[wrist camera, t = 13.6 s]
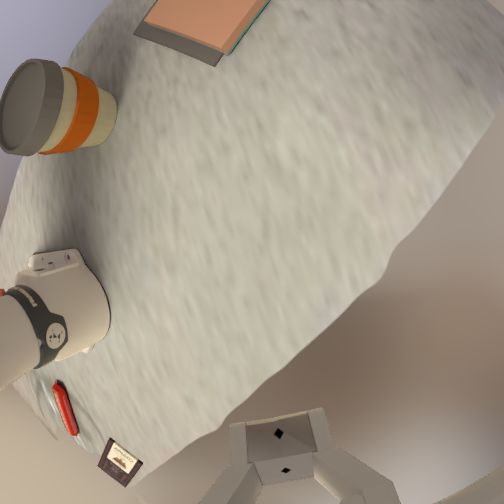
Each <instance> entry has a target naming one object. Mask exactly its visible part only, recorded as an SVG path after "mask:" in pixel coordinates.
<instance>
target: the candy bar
mask: <svg viewBox="0 0 504 504" xmlns="http://www.w3.org/2000/svg"><path fill="white" fill-rule="evenodd" d="M52 390H53V394H54V397H55V400H56V403H57V406H58V409H59V412H60V415H61V418H62V420H63V423H64V426H65V428H66V430H67V431H68V432H69V433H70V434H71V435H73V436H77V434H78V428H77V425H76V422H75V419H74V417H73V414H72V410H71V407H70V404H69V401H68V398H67V395H66V392H65V390H64V389H63V388H62V387H61V386H60V385H59V384H56V381H55V384H54V385H53V387H52Z"/></svg>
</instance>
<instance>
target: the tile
mask: <svg viewBox="0 0 504 504" xmlns="http://www.w3.org/2000/svg"><path fill="white" fill-rule="evenodd" d="M269 1H270V0H158V1H157V3H156V4H155V5H154V7H153V8H152V10H151V11H150V12H149V14H148V15H147V17H146V18H145V19H144V21H145V22H146V23H148V24H149V25H151V26H152V27H154V28H157V29H161V30H163V31H166V32H169V33H172V34H175V35H178V36H181V37H183V38H186V39H189V40H191V41H194V42H196V43H199V44H201V45H204V46H206V47H209V48H211V49H214V50H216V51H218V52H221V53H223V54H225V55H228V56H229V54H230V53H231V51H232V50H233V49H234V47H235V46H236V44H237V43H238V42H239V40H240V39H241V37H242V36H243V35H244V33H245V32H246V31H247V29H248V28H249V27H250V25H251V24H252V23H253V21H254V20H255V19H256V17H257V16H258V15H259V14H260V12H261V11H262V10H263V8H264V7H265V6H266V5H267V3H268V2H269Z"/></svg>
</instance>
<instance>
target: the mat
mask: <svg viewBox="0 0 504 504" xmlns="http://www.w3.org/2000/svg"><path fill="white" fill-rule="evenodd" d="M157 1H158V0H156V2H155V3H154V5H155V4H156V3H157ZM154 5H153V6H152V7H151V9H150V10H149V11H148V13H147V14H146V16H145V17H144V19H145V18H146V17H147V15H148V14H149V12H150V11H151V10H152V8H153V7H154ZM144 19H143V20H142V21H141V23H140V24H139V26H138V27H137V29H136V30H135V32H134V33H133V34H134V35H137V36H139V37H142V38H145V39H148V40H151V41H153V42H156V43H159V44H161V45H164V46H167V47H169V48H172V49H174V50H177V51H179V52H182V53H184V54H186V55H189V56H191V57H193V58H196V59H198V60H200V61H203V62H205V63H207V64H209V65H212V66H214V67H215V66H216V65H217V63H218V62H219V60H220V59H221V57H222V56H223V53H221V52H218V51H216V50H214V49H211V48H209V47H206V46H204V45H201V44H199V43H196V42H194V41H191V40H189V39H186V38H183V37H181V36H178V35H175V34H172V33H169V32H166V31H163V30H161V29H157V28H154V27H152V26H151V25H149V24H148V23H146V22H145V21H144Z"/></svg>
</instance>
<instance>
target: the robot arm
mask: <svg viewBox="0 0 504 504" xmlns="http://www.w3.org/2000/svg"><path fill="white" fill-rule="evenodd" d="M109 323H110V313H109V307H108V302H107V299H106V296H105V293H104V291H103V289H102V287H101V285H100V283H99V282H98V280H97V279H96V277H95V276H94V275H93V273H92V272H91V271H90V270H89V269H88V268H87V267H86V265H85V263H84V261H83V259H82V257H81V255H80V253H79V251H78V250H77V249H67V250H61V251H54V252H47V253H40V254H35V255H32V256H30V259H29V263H28V269H26V270H23V271H21V272H19V273H18V274H17V275H16V278H15V284H14V287H12V288H10V289H8V291H7V292H5V290H4V289H0V391H1V390H2V389H3V388H4V387H6V386H7V385H8V384H10V383H11V382H12V381H14V380H15V379H17V378H18V377H20V376H21V375H23V374H24V373H26V372H28V371H29V370H31V369H32V368H33V369H38V368H40V367H43V366H45V365H47V364H49V362H51V361H52V360H55V361H60V360H63V359H65V358H67V357H69V356H71V355H74V354H76V353H78V352H80V351H82V352H84V353H88V352H90V351H91V350H92V348H93V346H94V344H95V343H96V342H98V341H100V340H102V339H103V338H104V337H105V335H106V334H107V332H108V329H109ZM229 434H230V466H225V468H224V469H223V471H222V472H221V473H220V475H219V476H218V478H217V479H216V480H215V482H214V483H213V484H212V486H211V487H210V488H209V490H208V491H207V492H206V494H205V495H204V496H203V498H202V499H201V500H200V502H199V503H198V504H255V502H256V500H257V498H258V497H259V495H260V493H261V491H262V489H263V486H266V485H272V484H278V483H283V482H288V480H289V481H294V480H300V479H306V478H311V477H314V478H315V479H316V480H317V481H318V482H320V484H322V485H323V486H324V487H325V488H326V489H327V490H328V491H329V492H330V493H332V494H333V495H334V496H335V497H336V498H337V499H338V500H340V501H341V502H340V504H401V503H400V500H399V498H398V495H397V492H396V489H395V487H394V484H393V482H392V481H390V480H389V479H387V478H386V477H384V476H383V475H381V474H379V473H378V472H377V471H375V470H374V469H372V468H371V467H369V466H367V465H366V464H365V463H363V462H362V461H360V460H359V459H357V458H356V457H355V456H353V455H352V454H350V453H349V452H347V451H346V450H345V449H343V448H342V447H340V446H338V447H335V445H334V441H333V438H332V435H331V432H330V428H329V425H328V421H327V418H326V415H325V412H324V409H323V408H318V409H314V410H309V411H303V412H299V413H294V414H289V415H284V416H280V417H276V418H272V419H264V420H257V421H249V422H241V423H234V424H230V428H229ZM434 504H504V465H502V466H501V467H499V468H498V469H496V470H494V471H493V472H491V473H490V474H488V475H487V476H485V477H483V478H481V479H480V480H478V481H476V482H475V483H473V484H471V485H470V486H467V487H466V488H464V489H462V490H460V491H458V492H457V493H455V494H452V495H450V496H448V497H446V498H444V499H442V500H440V501H438V502H436V503H434Z"/></svg>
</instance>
